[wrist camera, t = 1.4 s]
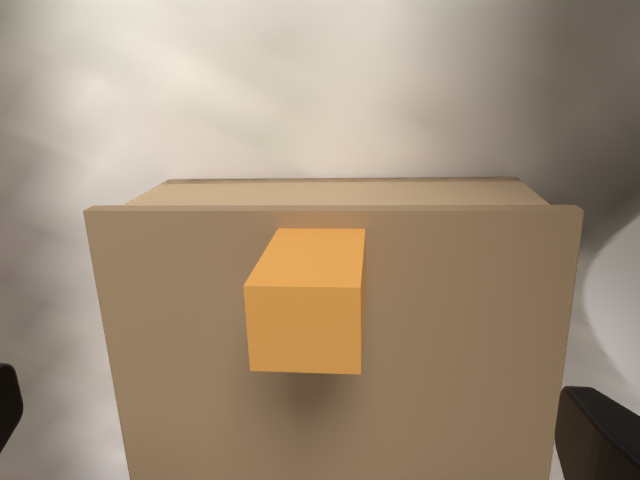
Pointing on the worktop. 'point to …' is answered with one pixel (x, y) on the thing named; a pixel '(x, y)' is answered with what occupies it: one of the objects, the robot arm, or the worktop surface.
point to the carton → (342, 192)
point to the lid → (336, 338)
